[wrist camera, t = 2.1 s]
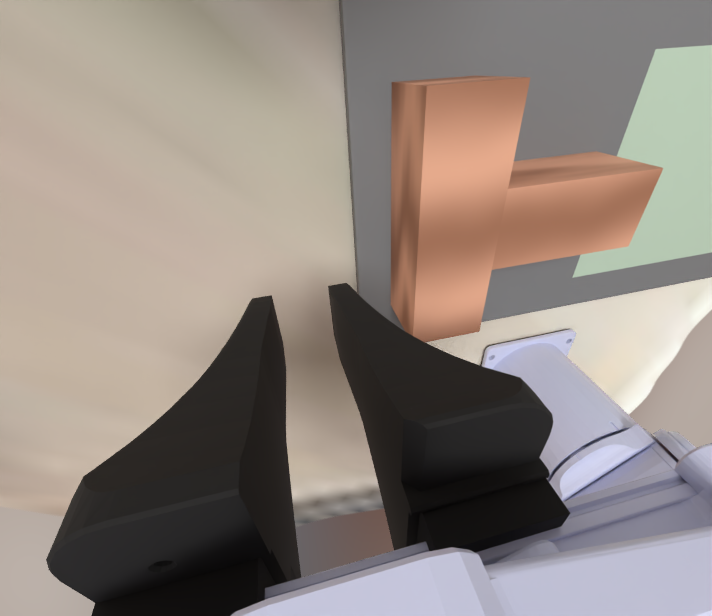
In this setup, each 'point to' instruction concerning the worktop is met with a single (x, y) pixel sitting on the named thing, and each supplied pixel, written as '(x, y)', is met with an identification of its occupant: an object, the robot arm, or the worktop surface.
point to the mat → (547, 125)
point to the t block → (489, 199)
